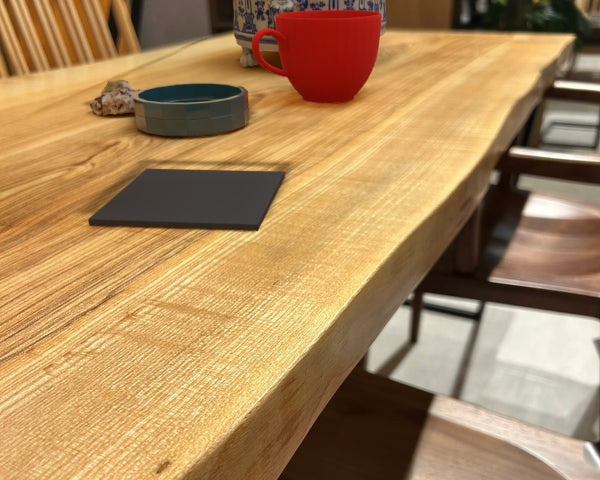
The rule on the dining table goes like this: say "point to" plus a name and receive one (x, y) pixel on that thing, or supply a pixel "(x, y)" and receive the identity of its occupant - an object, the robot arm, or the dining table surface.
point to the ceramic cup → (324, 51)
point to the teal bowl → (191, 109)
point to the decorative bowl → (267, 3)
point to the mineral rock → (114, 99)
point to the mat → (193, 200)
